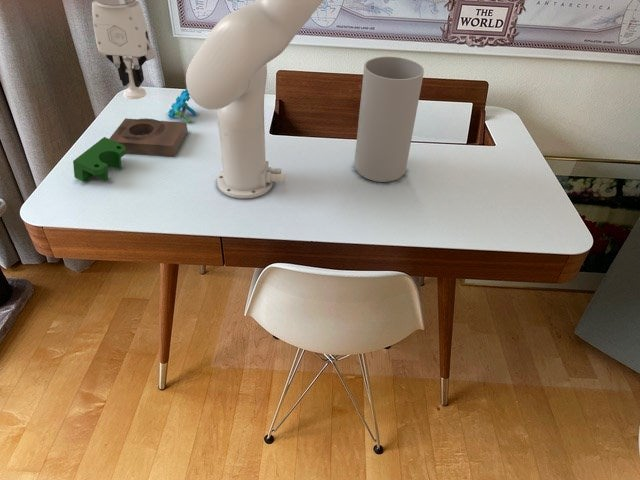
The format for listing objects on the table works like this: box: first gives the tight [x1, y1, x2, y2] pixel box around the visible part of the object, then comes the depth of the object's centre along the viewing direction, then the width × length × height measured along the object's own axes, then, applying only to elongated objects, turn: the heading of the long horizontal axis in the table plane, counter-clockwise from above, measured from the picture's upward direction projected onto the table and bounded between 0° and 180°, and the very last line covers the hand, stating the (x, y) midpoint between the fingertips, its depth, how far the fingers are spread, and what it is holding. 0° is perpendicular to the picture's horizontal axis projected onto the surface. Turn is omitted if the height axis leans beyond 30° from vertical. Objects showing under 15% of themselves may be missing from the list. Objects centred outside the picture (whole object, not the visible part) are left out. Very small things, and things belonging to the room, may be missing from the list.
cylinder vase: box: [353, 56, 425, 183], centre depth 110 cm, size 12×12×25 cm
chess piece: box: [123, 56, 147, 100], centre depth 107 cm, size 5×5×10 cm
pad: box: [108, 117, 189, 158], centre depth 123 cm, size 16×13×3 cm
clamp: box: [72, 136, 126, 183], centre depth 111 cm, size 12×6×9 cm
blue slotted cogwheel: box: [167, 87, 197, 123], centre depth 133 cm, size 11×6×10 cm
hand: (132, 83), depth 109 cm, fingers closed on chess piece
